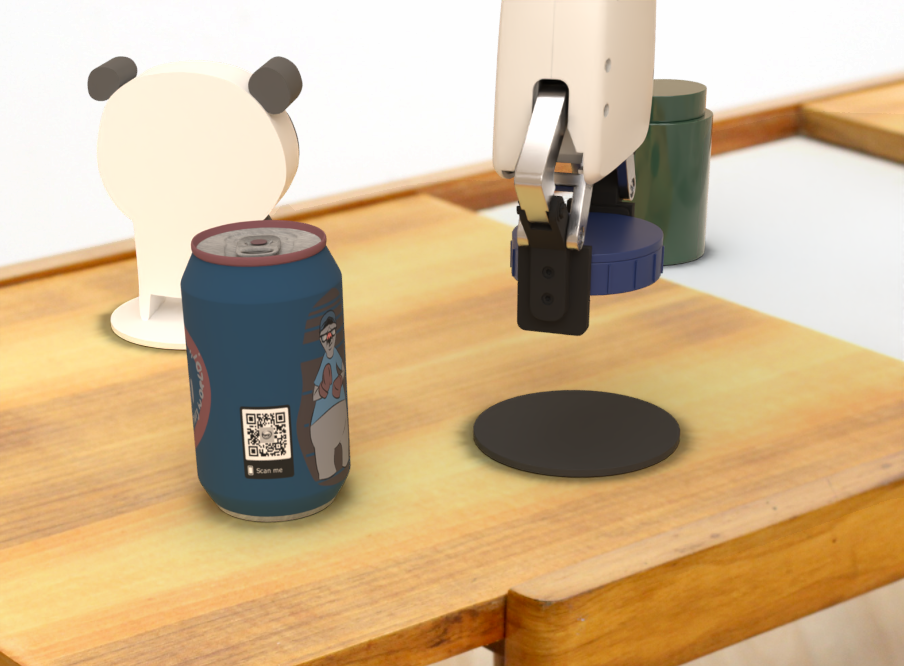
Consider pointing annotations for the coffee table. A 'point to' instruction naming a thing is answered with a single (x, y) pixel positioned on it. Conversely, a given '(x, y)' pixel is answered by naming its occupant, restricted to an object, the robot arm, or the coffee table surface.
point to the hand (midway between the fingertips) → (576, 302)
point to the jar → (676, 168)
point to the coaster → (576, 433)
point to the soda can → (267, 368)
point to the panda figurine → (189, 167)
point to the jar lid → (616, 253)
